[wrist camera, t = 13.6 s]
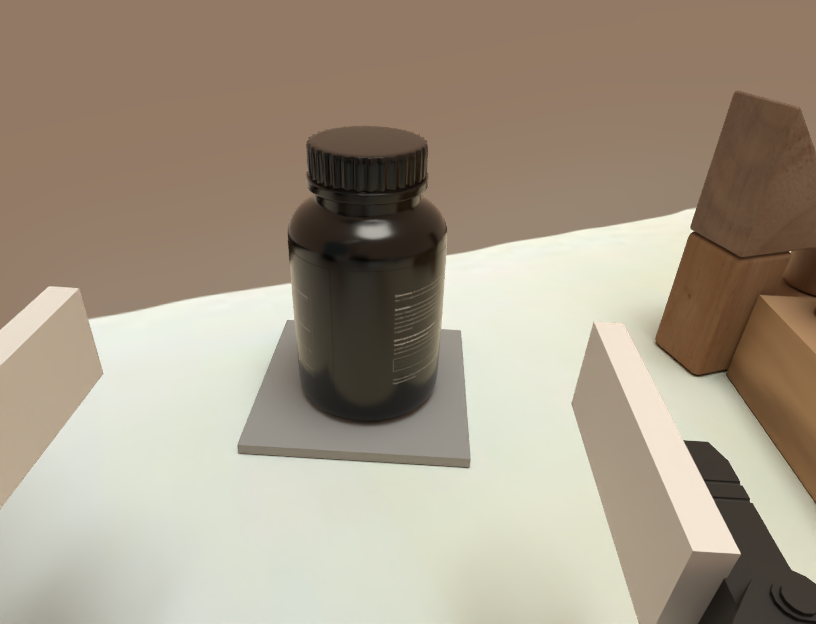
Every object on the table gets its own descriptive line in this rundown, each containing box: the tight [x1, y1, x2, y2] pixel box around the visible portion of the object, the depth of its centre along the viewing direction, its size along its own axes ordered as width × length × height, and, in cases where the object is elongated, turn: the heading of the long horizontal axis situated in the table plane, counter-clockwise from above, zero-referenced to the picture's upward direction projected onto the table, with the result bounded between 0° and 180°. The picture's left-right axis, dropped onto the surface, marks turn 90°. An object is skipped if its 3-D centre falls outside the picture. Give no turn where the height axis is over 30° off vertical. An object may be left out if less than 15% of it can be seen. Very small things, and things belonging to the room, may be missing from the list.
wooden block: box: [656, 91, 816, 375], centre depth 30 cm, size 4×11×18 cm, turn 108°
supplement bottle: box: [288, 126, 447, 422], centre depth 26 cm, size 7×7×12 cm
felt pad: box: [238, 320, 470, 467], centre depth 29 cm, size 10×10×1 cm
